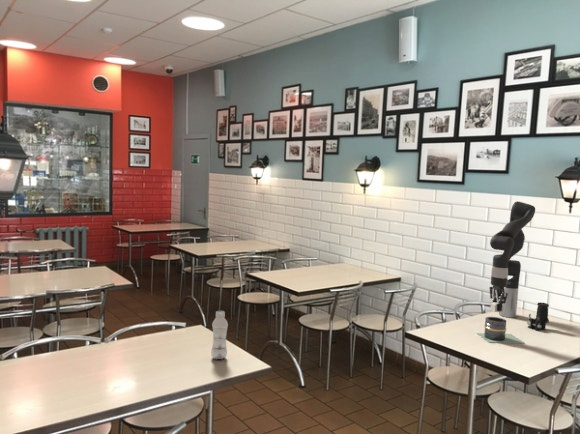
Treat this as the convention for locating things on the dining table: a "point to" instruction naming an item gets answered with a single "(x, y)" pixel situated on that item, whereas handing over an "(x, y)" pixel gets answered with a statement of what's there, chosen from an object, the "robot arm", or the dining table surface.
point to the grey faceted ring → (495, 328)
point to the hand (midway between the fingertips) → (496, 309)
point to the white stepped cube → (495, 307)
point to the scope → (539, 317)
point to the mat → (508, 339)
